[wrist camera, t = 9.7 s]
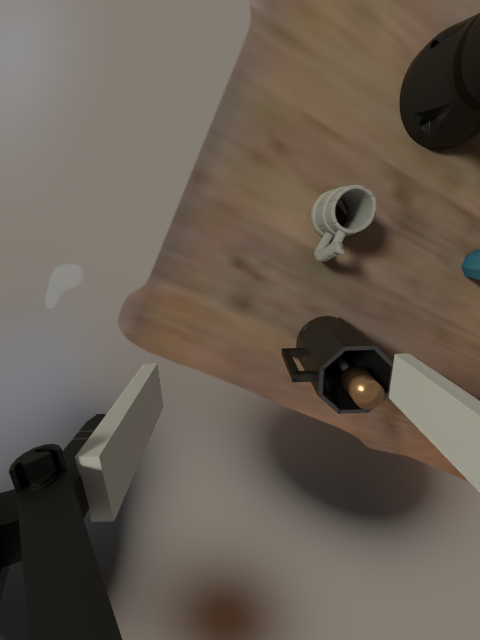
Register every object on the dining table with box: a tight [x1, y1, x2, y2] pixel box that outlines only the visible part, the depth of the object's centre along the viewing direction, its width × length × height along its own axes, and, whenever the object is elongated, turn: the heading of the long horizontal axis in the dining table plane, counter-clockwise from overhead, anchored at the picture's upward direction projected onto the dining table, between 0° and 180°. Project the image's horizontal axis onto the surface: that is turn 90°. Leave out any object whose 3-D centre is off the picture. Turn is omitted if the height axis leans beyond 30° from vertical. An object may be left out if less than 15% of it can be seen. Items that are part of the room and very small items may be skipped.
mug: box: [311, 185, 376, 262], centre depth 42 cm, size 8×12×12 cm, turn 160°
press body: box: [282, 316, 393, 414], centre depth 47 cm, size 15×11×15 cm
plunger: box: [333, 352, 385, 409], centre depth 44 cm, size 6×6×17 cm
